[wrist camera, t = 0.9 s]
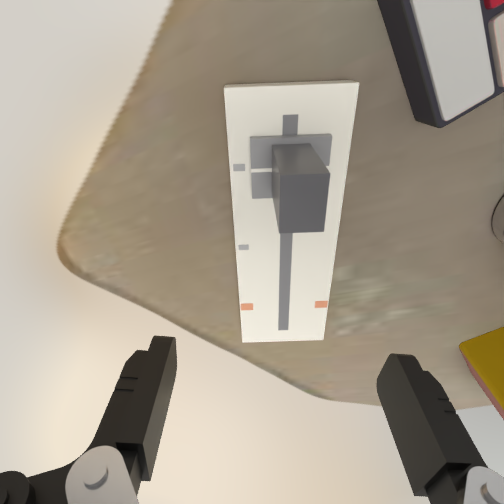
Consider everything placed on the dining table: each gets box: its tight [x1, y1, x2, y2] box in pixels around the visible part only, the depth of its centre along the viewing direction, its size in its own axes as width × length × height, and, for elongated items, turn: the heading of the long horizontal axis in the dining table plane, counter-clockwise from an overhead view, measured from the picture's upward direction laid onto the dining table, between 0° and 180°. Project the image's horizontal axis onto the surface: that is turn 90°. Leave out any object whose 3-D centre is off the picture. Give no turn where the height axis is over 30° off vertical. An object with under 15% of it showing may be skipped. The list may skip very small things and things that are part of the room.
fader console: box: [224, 80, 359, 342], centre depth 31 cm, size 10×28×3 cm, turn 2°
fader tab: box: [250, 134, 332, 233], centre depth 23 cm, size 6×5×8 cm
